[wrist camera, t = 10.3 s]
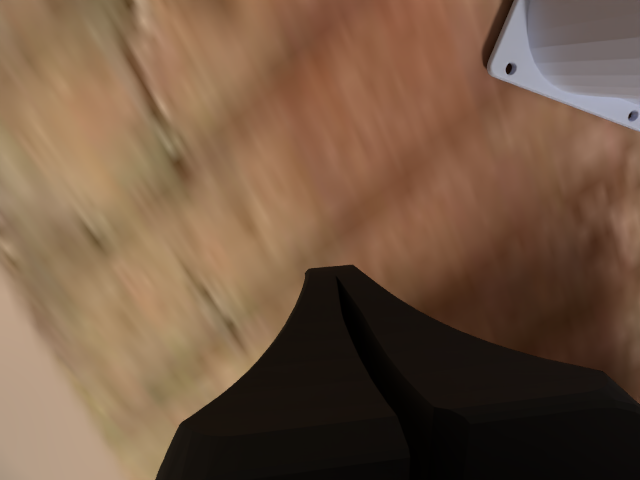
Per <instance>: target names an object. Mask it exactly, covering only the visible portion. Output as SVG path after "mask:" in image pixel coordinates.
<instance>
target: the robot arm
mask: <svg viewBox="0 0 640 480" xmlns="http://www.w3.org/2000/svg"><path fill="white" fill-rule="evenodd" d="M509 63H510V64H511V66H512V70H511V72H510V73H509V74H507V73H506V71H505V70H506V66H507V65H508V64H509ZM487 71H488V73H489V75H491V76H492V77H495V78H497V79H500V80H503V81H505V82H508V83H511V84H513V85H516V86H519V87H521V88H524V89H527V90H529V91H532V92H535V93H537V94H540V95H543V96H545V97H548V98H551V99H553V100H556V101H559V102H561V103H564V104H566V105H569V106H572V107H574V108H577V109H580V110H582V111H585V112H588V113H590V114H593V115H596V116H598V117H601V118H604V119H606V120H609V121H612V122H614V123H617V124H620V125H622V126H625V127H628V128H630V129H633V130H636V131H639V132H640V0H514V1H513V4H512V6H511V9H510V11H509V13H508V16H507V18H506V20H505V23H504V25H503V28H502V30H501V32H500V35H499V37H498V39H497V42H496V44H495V46H494V49H493V51H492V54H491V56H490V58H489V61H488V64H487ZM631 112H632V115H631V117H630V119H628V116H629V114H630V113H631ZM155 480H640V404H639V403H637V402H636V401H635V400H634V399H633V398H632V397H631V396H630V395H629V394H627V393H626V392H625V391H624V390H623V389H622V388H621V387H620V386H619V385H617V384H616V383H615V382H614V381H613V380H612V379H611V378H610V377H609V376H607V375H606V374H605V373H604V372H603V371H599V370H594V369H590V368H585V367H580V366H576V365H571V364H567V363H562V362H558V361H553V360H548V359H544V358H540V357H536V356H533V355H529V354H526V353H522V352H519V351H515V350H512V349H508V348H505V347H502V346H499V345H496V344H493V343H490V342H487V341H485V340H482V339H479V338H477V337H474V336H472V335H469V334H466V333H464V332H461V331H459V330H457V329H454V328H452V327H450V326H448V325H446V324H443V323H441V322H439V321H437V320H435V319H433V318H431V317H429V316H427V315H425V314H424V313H422V312H420V311H418V310H416V309H415V308H413V307H411V306H410V305H408V304H407V303H405V302H403V301H402V300H400V299H399V298H397V297H396V296H394V295H393V294H391V293H390V292H388V291H387V290H385V289H384V288H383V287H381V286H380V285H379V284H377V283H376V282H375V281H373V280H372V279H371V278H369V277H368V276H367V275H366V274H364V273H363V272H362V271H360V270H359V269H358V268H357V267H355V266H354V265H343V266H333V267H322V268H311V269H308V270H307V271H306V272H305V281H304V284H303V288H302V291H301V293H300V296H299V298H298V300H297V303H296V305H295V307H294V309H293V311H292V313H291V314H290V316H289V318H288V320H287V322H286V324H285V325H284V327H283V328H282V330H281V331H280V333H279V334H278V336H277V337H276V339H275V340H274V341H273V343H272V344H271V345H270V347H269V348H268V349H267V350H266V351H265V353H264V354H263V355H262V356H261V357H260V359H259V360H258V361H257V362H256V363H255V364H254V365H253V366H252V367H251V368H250V369H249V370H248V372H246V373H245V374H244V375H243V376H242V377H241V378H240V379H239V380H238V381H237V382H236V383H234V384H233V385H232V386H231V387H230V388H229V389H227V390H226V391H225V392H224V393H222V394H221V395H220V396H219V397H217V398H216V399H214V400H213V401H212V402H210V403H209V404H207V405H206V406H205V407H203V408H202V409H200V410H199V411H198V412H196V413H195V414H193V415H192V416H191V417H189V418H187V419H186V420H184V421H183V422H182V423H181V424H180V425H179V427H178V429H177V431H176V433H175V435H174V437H173V440H172V442H171V444H170V446H169V448H168V450H167V453H166V455H165V458H164V460H163V462H162V464H161V466H160V469H159V471H158V474H157V477H156V479H155Z"/></svg>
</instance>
